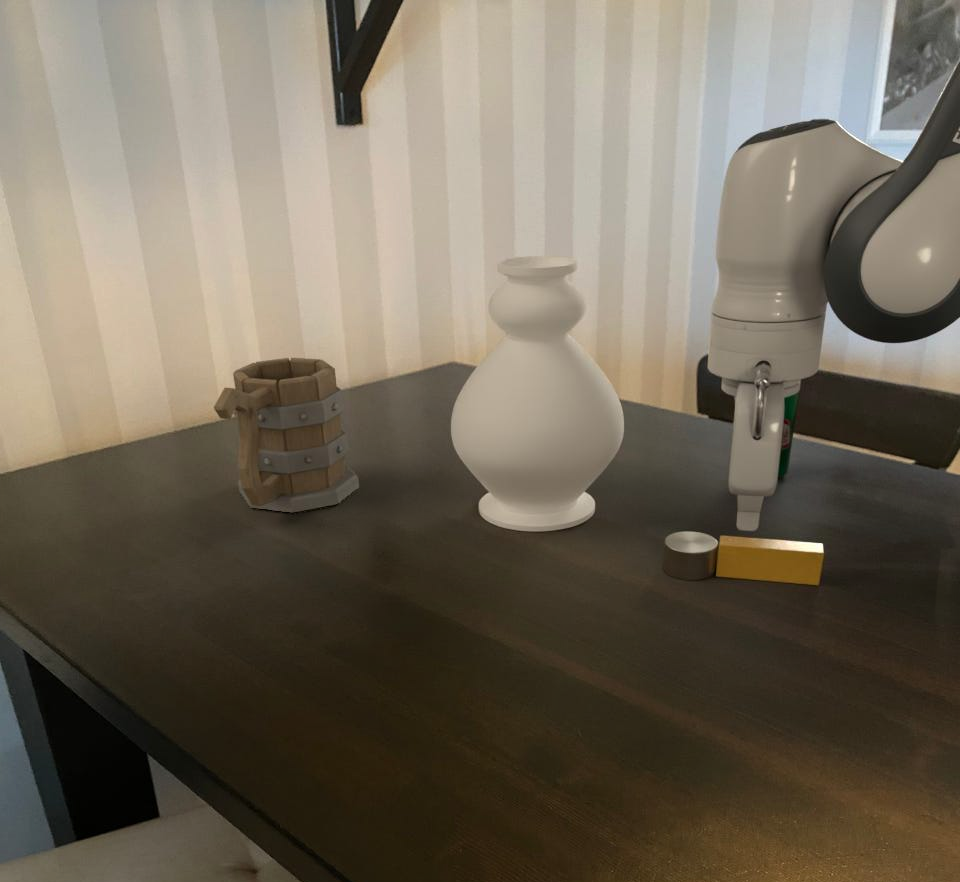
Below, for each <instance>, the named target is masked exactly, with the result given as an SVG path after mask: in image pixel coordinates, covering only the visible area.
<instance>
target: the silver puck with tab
mask: <svg viewBox="0 0 960 882" xmlns="http://www.w3.org/2000/svg"><path fill="white" fill-rule="evenodd" d="M824 549H825V548H824V543H822V542H821V543H820V542H811V541H810V542H809V541H799V540H796V541H795V540H785V539H783V540H782V539H773V538H772V539H770V538H758V537H748V536H747V537H746V536H734V535H733V536H732V535H720V536H719V541H718V540H717V539H716V538H715V537H713V536H712V535H710V534H707V533H703V532H699V531H677V532H674V533H671V534H669V535H668V536H666V537H665V539H664V546H663V556H662V558H663V559H662V570H663V572H664V573H665V574H666V575H668V576H670V577H672V578H674V579H678V580H683V581H701V580H705V579H708V578H711V577H712V576H713V575H714V574H715V577H719V578H729V579H741V580H754V581H763V582H776V583H788V584H797V585H798V584H799V585H807V586H808V585H809V586H819V585H820V580H821V579H820V578H821V573H822V569H823V562H824V555H825V550H824Z"/></svg>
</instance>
